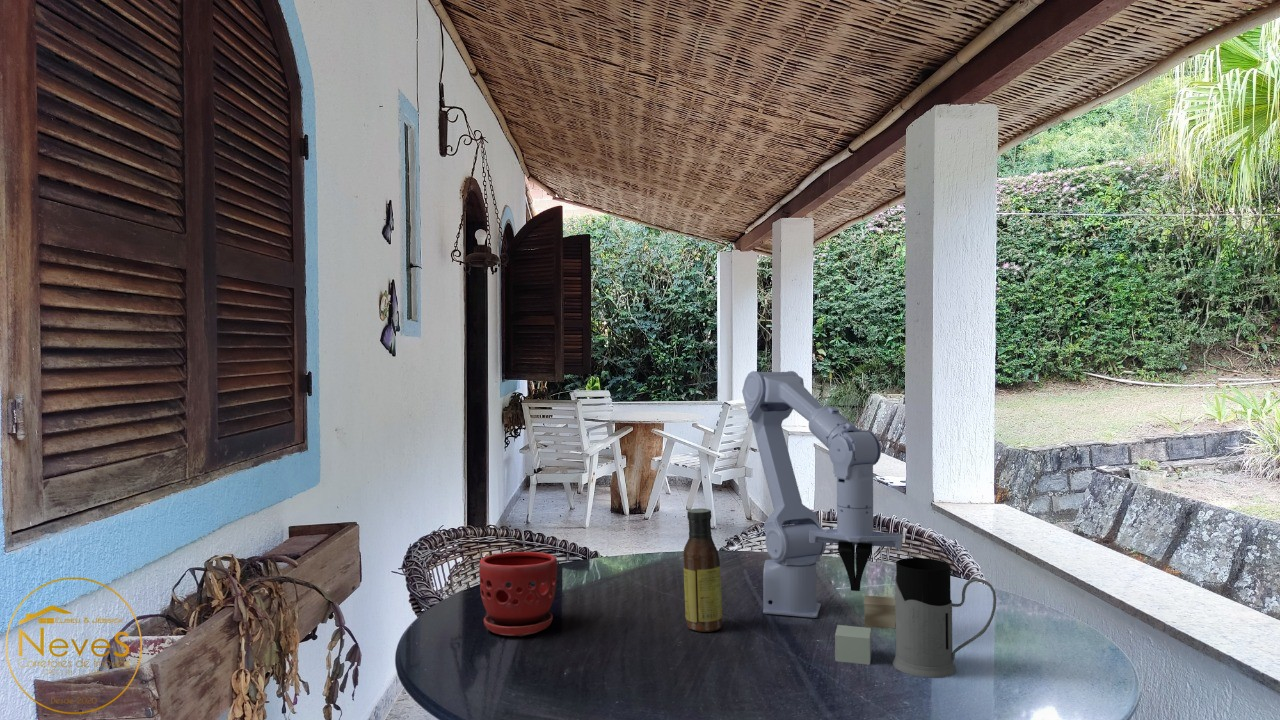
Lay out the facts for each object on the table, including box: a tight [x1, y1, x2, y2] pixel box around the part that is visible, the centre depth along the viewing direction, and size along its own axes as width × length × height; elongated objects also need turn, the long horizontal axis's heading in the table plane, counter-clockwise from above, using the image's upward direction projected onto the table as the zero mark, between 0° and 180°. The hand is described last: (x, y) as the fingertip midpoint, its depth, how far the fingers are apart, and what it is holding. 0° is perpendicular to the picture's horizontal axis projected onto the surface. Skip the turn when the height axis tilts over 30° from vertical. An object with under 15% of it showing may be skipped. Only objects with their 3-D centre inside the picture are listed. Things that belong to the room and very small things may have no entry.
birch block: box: [863, 595, 896, 630], centre depth 137 cm, size 5×5×4 cm
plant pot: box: [478, 551, 558, 638], centre depth 136 cm, size 13×13×12 cm
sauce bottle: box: [682, 507, 723, 633], centre depth 136 cm, size 7×6×20 cm
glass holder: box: [892, 557, 997, 679], centre depth 116 cm, size 9×14×15 cm, turn 60°
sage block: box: [834, 624, 872, 666], centre depth 121 cm, size 5×5×4 cm
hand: (855, 589), depth 130 cm, fingers closed
